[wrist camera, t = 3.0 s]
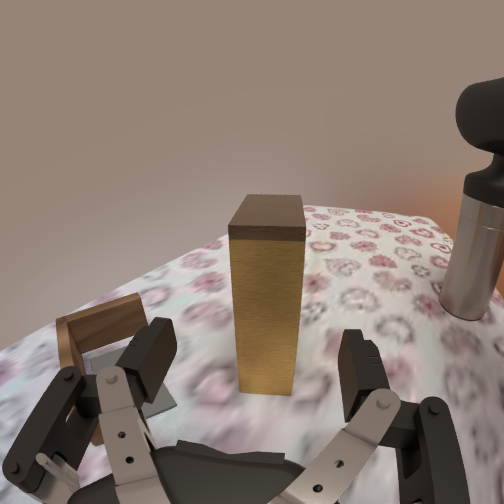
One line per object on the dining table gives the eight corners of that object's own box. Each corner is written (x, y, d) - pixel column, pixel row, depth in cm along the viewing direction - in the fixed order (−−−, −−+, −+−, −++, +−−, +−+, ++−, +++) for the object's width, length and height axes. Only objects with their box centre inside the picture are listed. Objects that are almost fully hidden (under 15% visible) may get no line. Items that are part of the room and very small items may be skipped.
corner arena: (200, 404, 24) (191, 371, 22) (95, 446, 17) (70, 417, 15) (145, 323, 35) (137, 292, 33) (70, 349, 29) (55, 319, 27)
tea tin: (291, 395, 25) (306, 226, 18) (240, 392, 25) (227, 225, 18) (292, 335, 33) (300, 194, 26) (251, 333, 34) (247, 194, 27)
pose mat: (177, 405, 23) (176, 403, 23) (114, 430, 20) (113, 429, 19) (140, 343, 31) (139, 341, 31) (90, 361, 28) (89, 359, 28)
